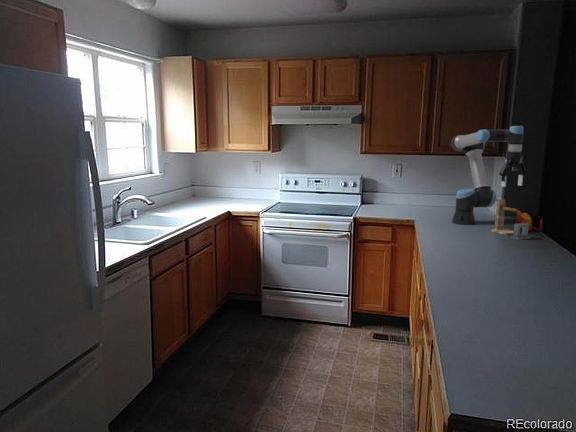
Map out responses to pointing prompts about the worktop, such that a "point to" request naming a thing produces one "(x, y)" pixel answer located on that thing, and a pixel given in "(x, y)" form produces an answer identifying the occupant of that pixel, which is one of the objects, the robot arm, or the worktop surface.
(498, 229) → the stand
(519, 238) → the pad
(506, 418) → the worktop surface
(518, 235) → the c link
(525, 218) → the mug
